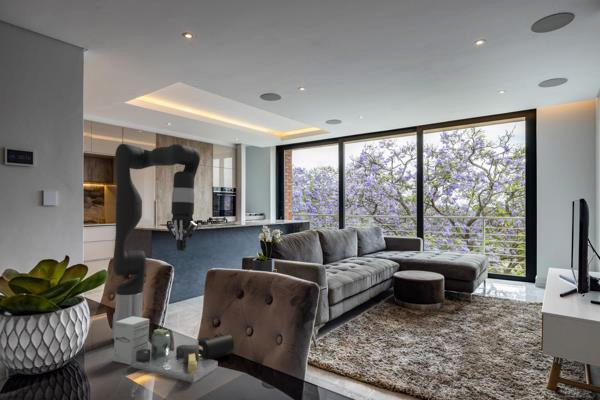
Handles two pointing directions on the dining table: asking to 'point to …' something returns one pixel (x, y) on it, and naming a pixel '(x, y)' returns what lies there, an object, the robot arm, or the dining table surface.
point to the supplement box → (130, 338)
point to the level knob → (191, 357)
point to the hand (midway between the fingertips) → (181, 250)
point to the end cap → (216, 346)
